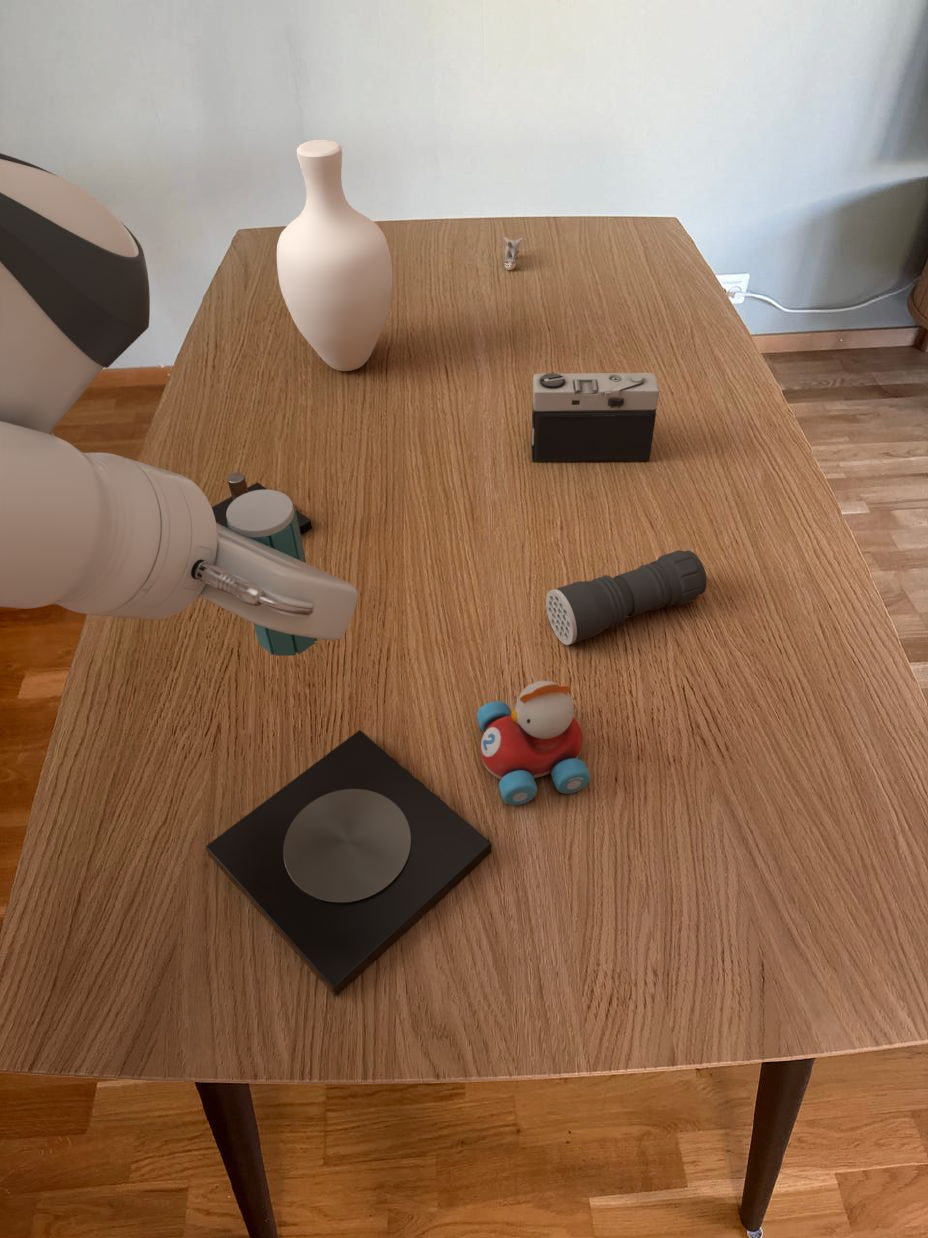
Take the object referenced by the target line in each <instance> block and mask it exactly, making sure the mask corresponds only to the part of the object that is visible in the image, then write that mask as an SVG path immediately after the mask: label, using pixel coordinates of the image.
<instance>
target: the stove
mask: <svg viewBox="0 0 928 1238" xmlns="http://www.w3.org/2000/svg"><path fill="white" fill-rule="evenodd" d="M492 846H493V844H492V842H491V841H489V839H487V838H486V836H484V835H483V834H482V833H481V832H479V831H478V830H477V829H476V828H475V827H474V826H472V825H471V824H470V823H469V822H468V821H467V820H465V818H463V817H462V816H461V815H460V814H458V813H457V812H456V811H455V809H453V808H451V807H450V806H449V805H448V804H447V803H446V802H444V800H442V799H441V798H440V797H439V796H438V795H436V794H435V793H434V792H433V791H432V790H431V789H430V788H428V787H427V786H426V785H425V784H424V783H422V782H421V781H420V780H419V779H418V778H417V777H416V776H414V775H413V774H412V773H411V772H410V771H408V769H406V768H405V767H404V766H403V765H402V764H400V762H398V761H397V760H396V759H394V758H393V756H392V755H390V754H389V753H387V751H385V750H384V749H383V748H382V747H381V746H379V745H378V744H377V743H376V742H375V741H373V740H372V739H371V737H369V736H368V735H366V734H365V732H363V731H362V730H361V729H358V730H357V731H356V732H354V734H352V735H351V736H349V737H348V738H347V739H346V740H344V741H342V742H341V743H340V744H338V745H337V746H336V747H335V748H334V749H332V750H331V751H329V752H328V753H327V754H326V755H324V756H323V757H322V758H321V759H320V758H319V760H318V761H316V762H315V763H314V764H313V765H311V766H309V767H308V768H307V769H306V770H304V771H303V772H302V773H300V774H299V775H298V776H297V777H295V778H293V780H292V781H290V782H288V783H286V785H285V786H283V787H282V788H280V789H279V790H278V791H277V792H275V793H274V794H273V795H271V796H270V797H269V798H267V799H266V800H265V801H264V802H262V803H261V804H259V805H258V806H257V807H255V808H254V809H253V810H252V811H250V812H249V813H247V814H246V815H245V816H244V817H243V818H241V819H240V820H238V821H236V823H235V824H233V825H232V826H231V827H229V828H228V829H227V830H225V831H224V832H223V833H221V834H219V836H217V837H216V838H215V839H213V840H212V841H211V842H210V843H208V844H207V845H206V846H205V849H206V851H207V854H208V856H209V858H210V859H211V860H212V861H213V862H214V863H215V864H216V866H218V868H219V869H220V871H222V872H223V873H224V874H225V875H226V877H227V878H228V879H229V880H230V881H231V882H232V883H233V884H234V885H235V887H236V888H238V890H239V891H240V892H241V893H242V894H243V895H244V897H245V898H246V899H247V900H248V901H249V902H250V903H251V904H252V906H254V908H255V909H256V910H257V911H258V912H259V913H260V915H261V916H262V917H263V918H264V919H265V920H266V921H267V922H268V924H270V926H271V927H272V928H273V929H274V930H275V931H276V932H277V934H279V935H280V937H281V938H282V939H283V940H284V941H285V942H286V943H287V944H288V945H289V947H290V948H291V949H292V951H293V952H295V954H297V956H298V957H299V958H300V959H301V960H302V961H303V963H305V965H306V966H307V967H308V968H309V969H310V970H311V971H312V972H313V973H314V974H315V976H316V977H317V978H318V979H319V980H320V981H321V982H322V983H323V985H324V986H325V987H326V988H327V989H328V991H330V992H331V994H332V995H333V996H334V997H337V996H339V995H340V993H342V992H343V991H344V990H345V989H346V988H347V987H348V986H349V985H350V984H351V983H353V982H354V981H355V980H356V979H357V978H358V977H359V976H360V975H361V974H362V973H363V972H364V971H366V969H368V967H370V966H371V965H372V964H373V963H374V962H375V961H377V959H379V958H380V957H381V956H382V955H383V954H384V953H385V952H386V951H387V950H388V949H389V948H390V947H391V946H393V944H395V943H396V942H397V941H398V940H399V939H400V938H401V937H403V935H405V933H406V932H407V931H409V930H410V929H411V928H412V927H413V926H414V925H416V923H417V922H418V921H420V920H421V919H422V918H423V917H424V916H425V915H426V914H427V913H428V912H429V911H430V910H431V909H432V908H434V907H435V906H436V905H437V904H438V903H439V902H440V901H441V900H442V899H444V897H445V896H447V894H449V893H450V892H451V891H452V890H453V889H454V888H455V887H456V886H457V885H459V884H460V883H461V882H462V881H463V880H464V879H465V878H466V877H467V876H468V875H469V874H470V873H471V872H473V871H474V870H475V868H477V867H478V866H479V865H480V864H481V863H483V861H485V860H486V858H488V857H489V856H490V855H491V854H492V850H493V849H492Z"/></svg>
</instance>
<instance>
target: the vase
mask: <svg viewBox="0 0 928 1238" xmlns="http://www.w3.org/2000/svg"><path fill="white" fill-rule="evenodd" d="M296 158H297V161H298V163H299V167H300V170H301V173H302V177H303V180H304V184H305V192H306V196H305V197H306V198H305V204H304V208H303V210H302V211H301V213H300V214H299V215H298V216H297V217H296V218H294V219H293V220H292V221H291V222H290V223H288V225H287V226H286V227H285V228H284V229H283V230H282V231H281V232H280V234H279V237H278V241H277V245H276V267H277V278H278V283H279V289H280V291H281V294H282V297H283V300H284V303H285V305H286V308H287V311H288V313H289V315H290V317H291V318H292V320H293V322H294V324H295V326H296V328H297V329H298V331H299V332H300V335H302V336H303V338H304V339H305V341H306V342H307V343H308V344H309V345H310V346H311V348H312V349H313V350H314V352H316V353H317V355H318V356H319V357H320V358H321V360H322V361H323V362H324V363H325V364H326V365H327V366H329V367H330V368H332V369H334V370H336V371H341V372H352V371H355V370H358V369H361V367H363V366H364V365H366V363H367V362H368V360H369V358H370V357H371V356H372V353H373V351H374V349H375V347H376V345H377V343H378V341H379V338H380V337H381V334H382V332H383V329H384V327H385V325H386V322H387V319H388V316H389V311H390V307H391V299H392V292H393V283H394V280H393V279H394V278H393V277H394V274H393V264H392V257H391V253H390V248H389V243H388V241H387V238H386V236H385V234H384V232H383V231H382V229H381V227H380V226H379V225H378V224H377V223H376V222H374V221H373V220H371V219H370V218H369V217H367V216H366V215H364V214H363V213H361V212H359V211H358V210H356V209H355V208H354V207H352V206H351V205H350V204H349V202H348V200H347V198H346V195H345V192H344V189H343V181H342V166H343V165H342V164H343V150H342V145H341V144H339V143H338V142H337V141H335V140H330V139H314V140H309V141H305V142H303V143H301V144H299V145H298V147H297V149H296Z"/></svg>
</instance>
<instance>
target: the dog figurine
mask: <svg viewBox="0 0 928 1238" xmlns="http://www.w3.org/2000/svg"><path fill="white" fill-rule="evenodd" d="M502 238H503V240H504V242H505V243H506V247H505V250H504V259H505V260H504V261H503V262H504V268H505V269H506V270H507V271H513V270H514V269H515V268H516V267H517V266H516V265H517V264H516V260H515V259H517V256H518V254H519V253H520V250H519V249H520V248H519V246H520V243H521V242H522V241H523V240H524V237H520V238H518V239H514V240H512V239H510V238H508V237H506V236H502ZM514 260H515V261H514ZM505 264H506V265H509V266H506V265H505ZM514 264H515V265H514ZM510 265H514V266H510Z"/></svg>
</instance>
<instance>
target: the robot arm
mask: <svg viewBox="0 0 928 1238" xmlns="http://www.w3.org/2000/svg"><path fill="white" fill-rule="evenodd" d="M145 257H146V256H145V253H144V249H143V246H142V245H141V243H140V242H139V240H138V239H137V238H136V236H135V235H134V234H133V233H132V231H131V230H130V229H129V228H128V227H127V226H126V225H125V224H124V223H123V222H122V221H121V220H120V219H119V218H118V217H117V216H116V215H115V214H114V213H113V212H112V211H111V210H110V209H109V208H108V207H107V206H106V205H104V204H103V202H101V201H100V200H99V199H98V198H96V197H95V196H94V195H92V194H91V193H90V192H88V191H86V190H85V189H83V188H81V187H80V186H78V185H76V184H75V183H73V182H71V181H69V180H67V179H65V178H63V177H60V176H59V175H57V174H54V173H52V172H51V171H49V170H46V169H44V168H42V167H40V166H37V165H35V164H33V163H30V162H27V161H25V160H22V159H18V158H16V157H13V156H10V155H8V154H4V153H1V152H0V608H11V609H25V610H27V609H28V610H29V609H37V608H41V607H47V606H50V605H57V606H60V607H61V608H64V609H66V610H68V611H70V612H73V613H76V614H77V613H78V614H83V615H88V616H100V617H111V618H113V617H114V618H124V619H134V620H145V621H159V620H166V619H169V618H171V617H174V616H176V615H178V614H180V613H181V612H183V611H184V610H186V609H187V608H189V606H191V605H192V604H193V603H194V602H195V601H196V600H197V598H199V597H200V598H201V599H203V600H205V601H208V602H210V603H211V604H213V605H216V606H218V607H219V608H221V609H224V610H226V611H228V612H229V613H231V614H233V615H235V616H238V617H239V618H242V619H243V620H246V621H248V622H250V623H253V624H254V623H255V624H257V625H260V626H263V627H265V628H268V629H272V630H275V631H279V632H283V633H287V634H292V635H298V636H304V637H310V638H316V639H317V640H324V641H331V642H332V641H333V642H334V641H338V640H341V639H343V637H344V635H345V634H346V632H347V630H348V628H349V626H350V624H351V622H352V619H353V616H354V613H355V611H356V608H357V604H358V602H359V592H358V589H357V586H355V585H354V584H352V583H350V582H348V581H346V580H344V579H342V578H340V577H337V576H335V575H333V574H331V573H329V572H326V571H324V570H322V569H320V568H318V567H316V566H313V565H311V564H308V563H307V562H306V563H304V562H302V561H300V560H298V559H295V558H293V557H291V556H289V555H287V554H284V553H282V552H280V551H278V550H275V549H273V548H271V547H269V546H267V545H264V544H262V543H260V542H258V541H255V540H253V539H250V538H248V537H245V536H243V535H240V534H238V533H236V532H234V531H232V530H230V529H228V528H227V527H224V526H222V525H220V524H218V523H216V521H215V516H214V513H213V510H212V507H213V506H212V505H211V503H210V501H209V499H208V497H207V496H206V494H205V493H204V491H203V490H202V489H201V488H200V487H199V486H198V484H197V483H195V482H194V481H193V480H192V479H190V478H189V477H186V476H185V475H183V474H181V473H178V472H175V471H171V470H168V469H164V468H162V467H158V466H155V465H152V464H151V465H150V464H147V463H144V462H142V461H138V460H135V459H132V458H128V457H125V456H122V455H118V454H115V453H110V452H102V451H97V452H96V451H95V452H83V451H81V450H80V449H78V448H77V447H75V446H74V445H73V444H71V443H70V442H68V441H66V440H65V439H62V438H60V437H57V436H55V435H54V433H53V432H52V431H54V429H55V428H56V427H57V425H58V424H59V423H60V422H61V421H62V420H63V418H64V417H65V415H67V413H68V411H70V410H71V408H72V407H73V406H74V405H75V404H76V402H77V401H78V400H79V398H81V397H82V395H83V394H84V392H85V391H86V390H87V389H88V387H89V386H90V385H91V384H92V383H93V382H94V380H95V379H96V378H97V377H98V376H99V374H100V373H101V372H102V371H103V369H104V368H105V369H107V368H109V367H110V366H111V365H112V364H114V362H116V360H118V358H120V356H122V354H123V353H124V352H125V351H127V350H128V349H129V347H131V346H132V345H133V344H134V343H135V342H136V341H137V340H138V339H139V337H141V336H142V335H143V334H144V333H145V332H146V330H148V329H149V327H150V318H151V317H150V315H151V314H150V313H151V297H150V295H151V294H150V293H151V292H150V280H149V274H148V272H149V271H148V267H147V262H146V258H145Z"/></svg>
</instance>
